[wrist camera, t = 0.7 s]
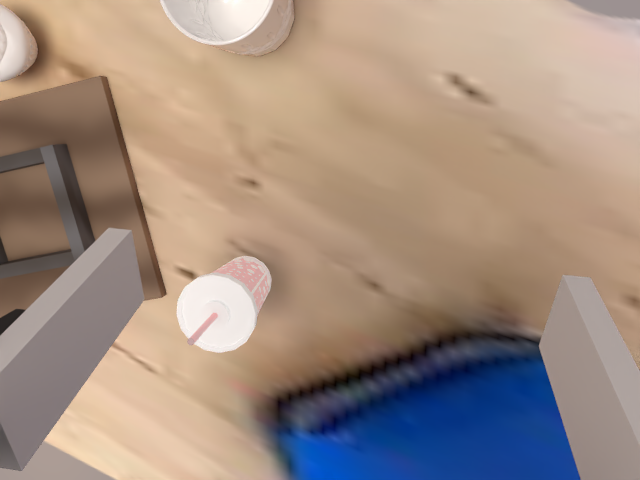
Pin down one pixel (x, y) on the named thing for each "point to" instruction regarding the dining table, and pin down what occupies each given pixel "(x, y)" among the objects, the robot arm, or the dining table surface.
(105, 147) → the cup holder
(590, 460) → the robot arm
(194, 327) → the beverage cup
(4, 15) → the white lidded jar
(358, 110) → the dining table surface
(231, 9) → the white cup
